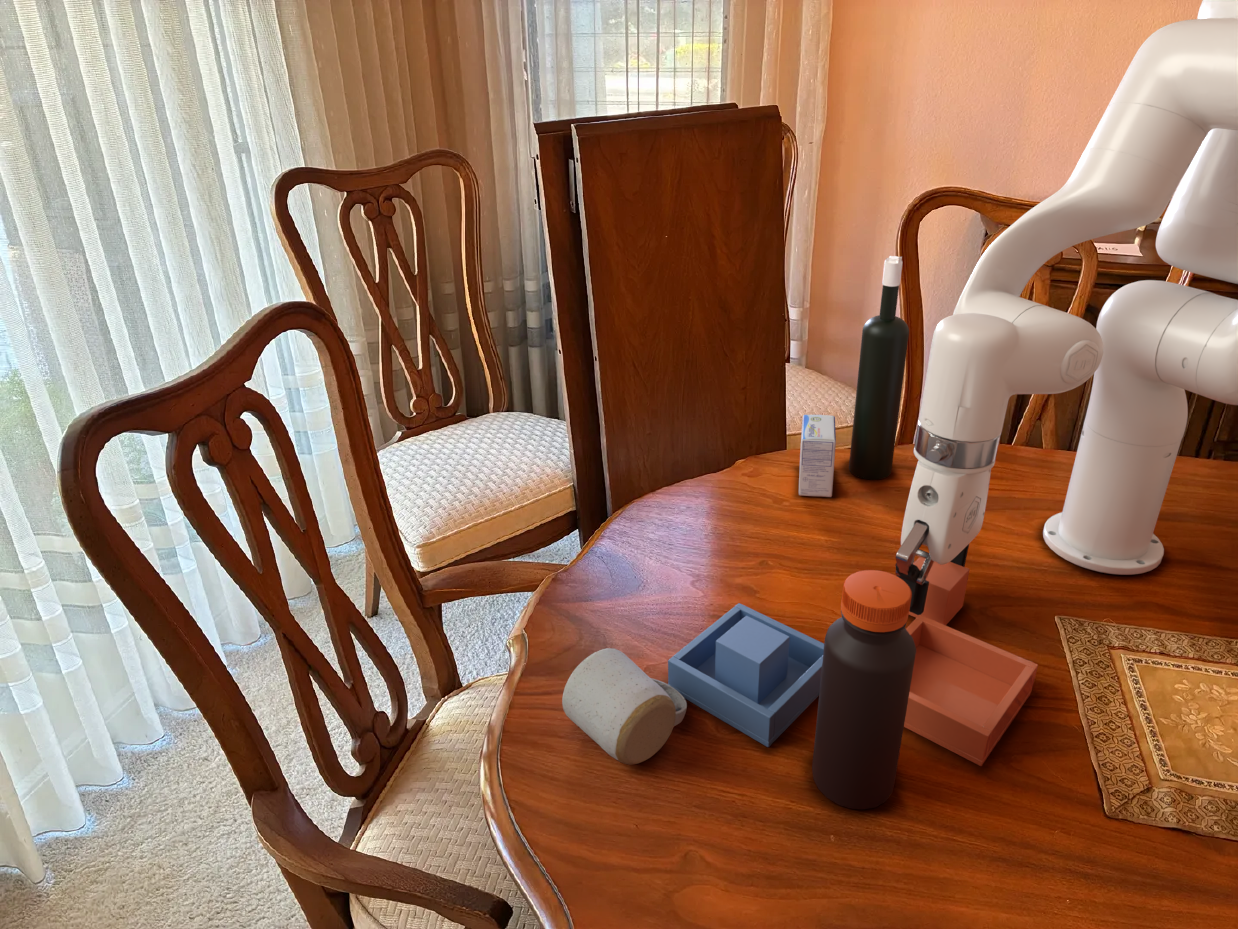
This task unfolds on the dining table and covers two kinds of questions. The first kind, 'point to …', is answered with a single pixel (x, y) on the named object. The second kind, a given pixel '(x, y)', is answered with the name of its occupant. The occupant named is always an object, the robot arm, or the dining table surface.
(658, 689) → the ceramic mug
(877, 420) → the wine bottle
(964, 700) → the terracotta bin
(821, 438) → the medicine box
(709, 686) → the blue bin
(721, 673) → the blue block
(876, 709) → the black bottle
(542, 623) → the dining table surface
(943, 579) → the terracotta block
